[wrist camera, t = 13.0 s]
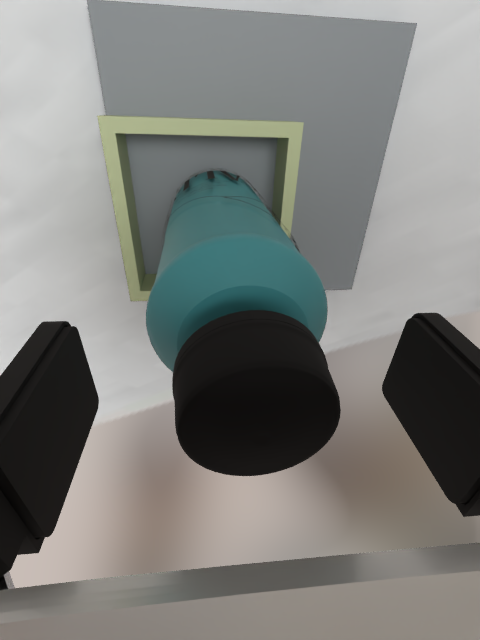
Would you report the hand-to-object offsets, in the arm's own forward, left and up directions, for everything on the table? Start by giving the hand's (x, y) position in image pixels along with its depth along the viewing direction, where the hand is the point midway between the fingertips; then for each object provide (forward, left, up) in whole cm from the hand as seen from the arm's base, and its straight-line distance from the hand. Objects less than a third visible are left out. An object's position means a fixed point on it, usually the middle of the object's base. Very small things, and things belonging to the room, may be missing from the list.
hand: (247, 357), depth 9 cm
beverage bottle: (0, 0, -18) cm, 18 cm away
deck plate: (-3, -2, -19) cm, 19 cm away
